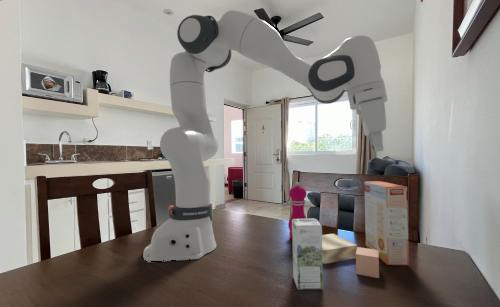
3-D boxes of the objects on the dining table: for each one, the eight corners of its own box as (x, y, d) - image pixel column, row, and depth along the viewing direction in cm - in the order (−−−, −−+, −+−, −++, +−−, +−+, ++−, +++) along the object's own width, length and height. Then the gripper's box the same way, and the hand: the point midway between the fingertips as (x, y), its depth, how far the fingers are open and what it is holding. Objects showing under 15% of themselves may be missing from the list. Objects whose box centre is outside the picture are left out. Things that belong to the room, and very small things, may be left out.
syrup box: (316, 277, 59) (314, 217, 59) (323, 290, 53) (322, 224, 53) (292, 277, 59) (291, 217, 59) (297, 291, 53) (295, 224, 53)
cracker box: (410, 266, 63) (408, 186, 64) (386, 266, 64) (384, 186, 64) (384, 246, 77) (382, 180, 78) (365, 246, 78) (363, 180, 78)
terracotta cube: (379, 278, 58) (378, 257, 58) (356, 274, 60) (355, 253, 60) (379, 269, 62) (378, 249, 62) (357, 265, 65) (357, 247, 65)
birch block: (324, 265, 66) (323, 250, 66) (303, 250, 77) (303, 237, 77) (357, 259, 70) (357, 245, 70) (333, 245, 80) (333, 233, 80)
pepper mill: (310, 242, 83) (308, 183, 83) (288, 241, 84) (287, 183, 84) (308, 235, 90) (307, 180, 90) (288, 234, 91) (287, 180, 91)
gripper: (354, 107, 75) (362, 152, 74) (354, 94, 56) (366, 154, 55) (376, 102, 72) (385, 148, 71) (385, 86, 53) (398, 149, 53)
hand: (377, 151), depth 63 cm, fingers open, 8 cm apart
